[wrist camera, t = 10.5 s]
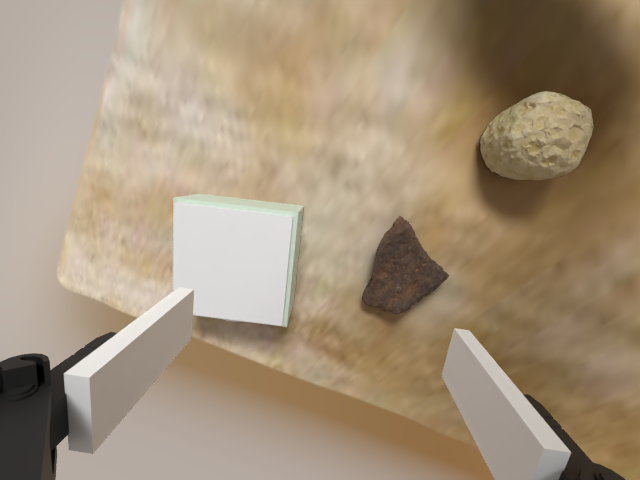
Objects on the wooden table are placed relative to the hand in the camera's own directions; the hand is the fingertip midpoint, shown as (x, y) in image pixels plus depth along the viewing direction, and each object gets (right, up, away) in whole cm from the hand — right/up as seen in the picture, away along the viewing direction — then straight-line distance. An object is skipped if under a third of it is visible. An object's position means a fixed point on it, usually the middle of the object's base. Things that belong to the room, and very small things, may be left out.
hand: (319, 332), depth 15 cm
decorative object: (+22, +16, +23) cm, 36 cm away
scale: (-10, +3, +27) cm, 29 cm away
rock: (+7, +4, +26) cm, 27 cm away
